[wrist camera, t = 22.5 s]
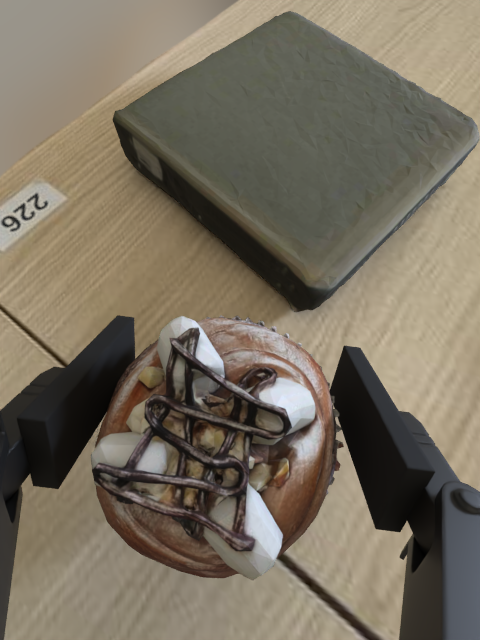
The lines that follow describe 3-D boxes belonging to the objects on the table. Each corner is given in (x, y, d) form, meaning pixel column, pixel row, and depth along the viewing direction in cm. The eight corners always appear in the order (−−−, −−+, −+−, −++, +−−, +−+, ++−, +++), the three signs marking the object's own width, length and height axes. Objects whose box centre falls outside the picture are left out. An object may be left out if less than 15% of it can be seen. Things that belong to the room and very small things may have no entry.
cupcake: (294, 546, 15) (407, 732, 6) (111, 495, 16) (-54, 596, 6) (323, 365, 19) (426, 300, 9) (171, 325, 19) (120, 224, 10)
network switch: (262, 52, 33) (269, -10, 29) (459, 158, 29) (504, 107, 25) (106, 183, 26) (80, 129, 22) (336, 344, 23) (366, 321, 18)
